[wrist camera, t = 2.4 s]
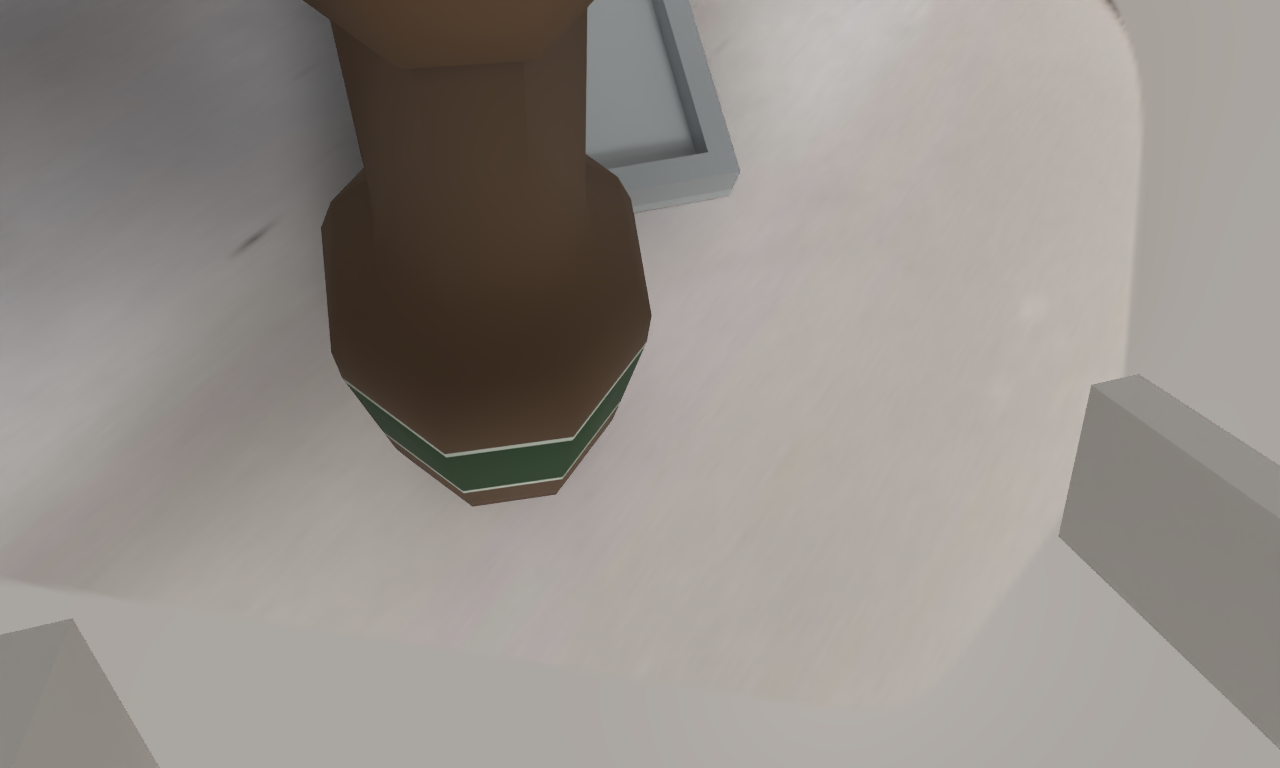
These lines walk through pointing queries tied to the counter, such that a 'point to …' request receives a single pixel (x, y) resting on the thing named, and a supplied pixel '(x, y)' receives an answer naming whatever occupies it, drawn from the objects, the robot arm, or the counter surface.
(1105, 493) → the robot arm
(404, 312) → the beer bottle
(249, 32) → the counter surface
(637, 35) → the keeper tray
